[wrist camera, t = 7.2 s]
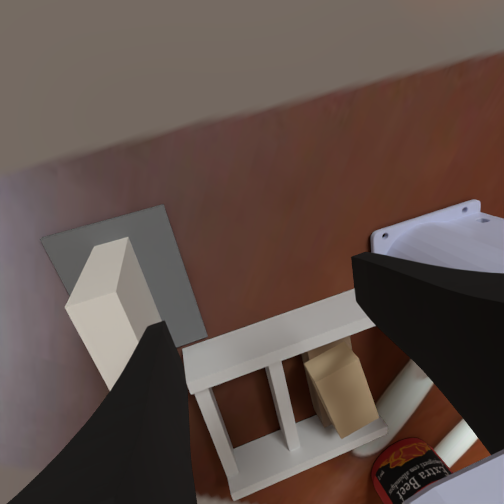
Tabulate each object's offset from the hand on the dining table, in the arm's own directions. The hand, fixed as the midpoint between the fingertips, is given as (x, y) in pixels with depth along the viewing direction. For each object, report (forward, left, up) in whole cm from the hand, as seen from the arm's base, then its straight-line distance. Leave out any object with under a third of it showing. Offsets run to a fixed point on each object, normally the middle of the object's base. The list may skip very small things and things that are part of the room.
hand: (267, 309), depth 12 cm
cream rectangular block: (+6, +3, -10) cm, 12 cm away
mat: (+6, +3, -10) cm, 12 cm away
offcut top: (-6, +15, -8) cm, 18 cm away
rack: (-2, +15, -10) cm, 18 cm away
